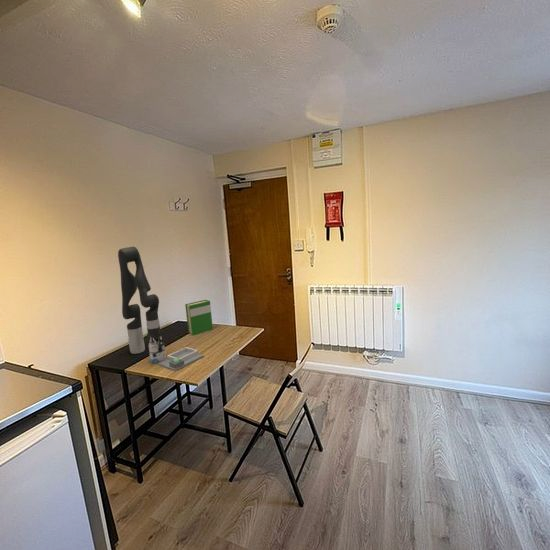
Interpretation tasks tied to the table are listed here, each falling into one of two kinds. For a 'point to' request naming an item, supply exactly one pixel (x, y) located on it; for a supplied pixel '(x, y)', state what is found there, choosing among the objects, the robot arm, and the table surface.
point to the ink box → (156, 353)
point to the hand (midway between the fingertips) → (156, 351)
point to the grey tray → (181, 358)
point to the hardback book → (199, 317)
